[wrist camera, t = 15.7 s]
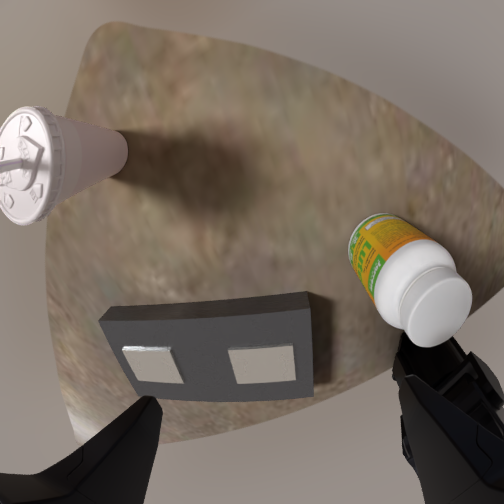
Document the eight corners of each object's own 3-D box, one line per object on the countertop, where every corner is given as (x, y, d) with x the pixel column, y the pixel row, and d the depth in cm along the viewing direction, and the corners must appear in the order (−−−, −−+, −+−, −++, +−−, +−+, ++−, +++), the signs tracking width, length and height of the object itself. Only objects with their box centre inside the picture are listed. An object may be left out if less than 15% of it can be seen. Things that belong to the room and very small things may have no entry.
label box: (306, 291, 21) (310, 310, 18) (311, 377, 24) (313, 398, 22) (110, 306, 23) (96, 322, 21) (146, 380, 27) (137, 398, 24)
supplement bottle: (340, 221, 19) (393, 282, 10) (405, 204, 18) (486, 250, 9) (352, 285, 21) (393, 371, 12) (411, 268, 20) (474, 338, 11)
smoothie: (152, 179, 19) (-6, 240, 6) (89, 201, 20) (-47, 267, 7) (134, 101, 17) (-24, 75, 4) (73, 132, 18) (-68, 149, 5)
